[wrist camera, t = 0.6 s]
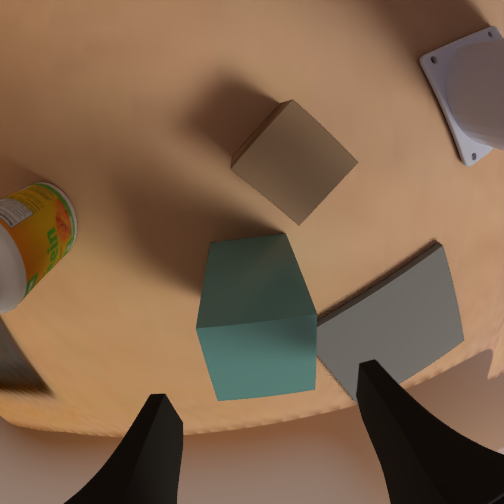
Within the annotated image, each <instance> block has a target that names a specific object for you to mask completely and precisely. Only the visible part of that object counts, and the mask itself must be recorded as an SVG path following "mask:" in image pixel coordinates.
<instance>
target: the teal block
mask: <svg viewBox="0 0 504 504" xmlns="http://www.w3.org/2000/svg"><path fill="white" fill-rule="evenodd" d="M196 331H197V334H198V338H199V341H200V345H201V348H202V351H203V355H204V358H205V361H206V365H207V368H208V371H209V375H210V378H211V381H212V384H213V387H214V390H215V393H216V396H217V400H218V401H224V400H237V399H248V398H258V397H267V396H275V395H282V394H289V393H296V392H303V391H309V390H315V378H316V349H317V312H316V310H315V307H314V304H313V302H312V299H311V296H310V294H309V291H308V289H307V286H306V283H305V281H304V278H303V276H302V273H301V270H300V268H299V265H298V263H297V260H296V258H295V255H294V253H293V250H292V248H291V245H290V243H289V240H288V238H287V235H286V234H277V235H269V236H261V237H252V238H244V239H236V240H228V241H220V242H212V243H210V248H209V254H208V259H207V265H206V271H205V276H204V282H203V288H202V294H201V300H200V306H199V312H198V318H197V325H196Z"/></svg>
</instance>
